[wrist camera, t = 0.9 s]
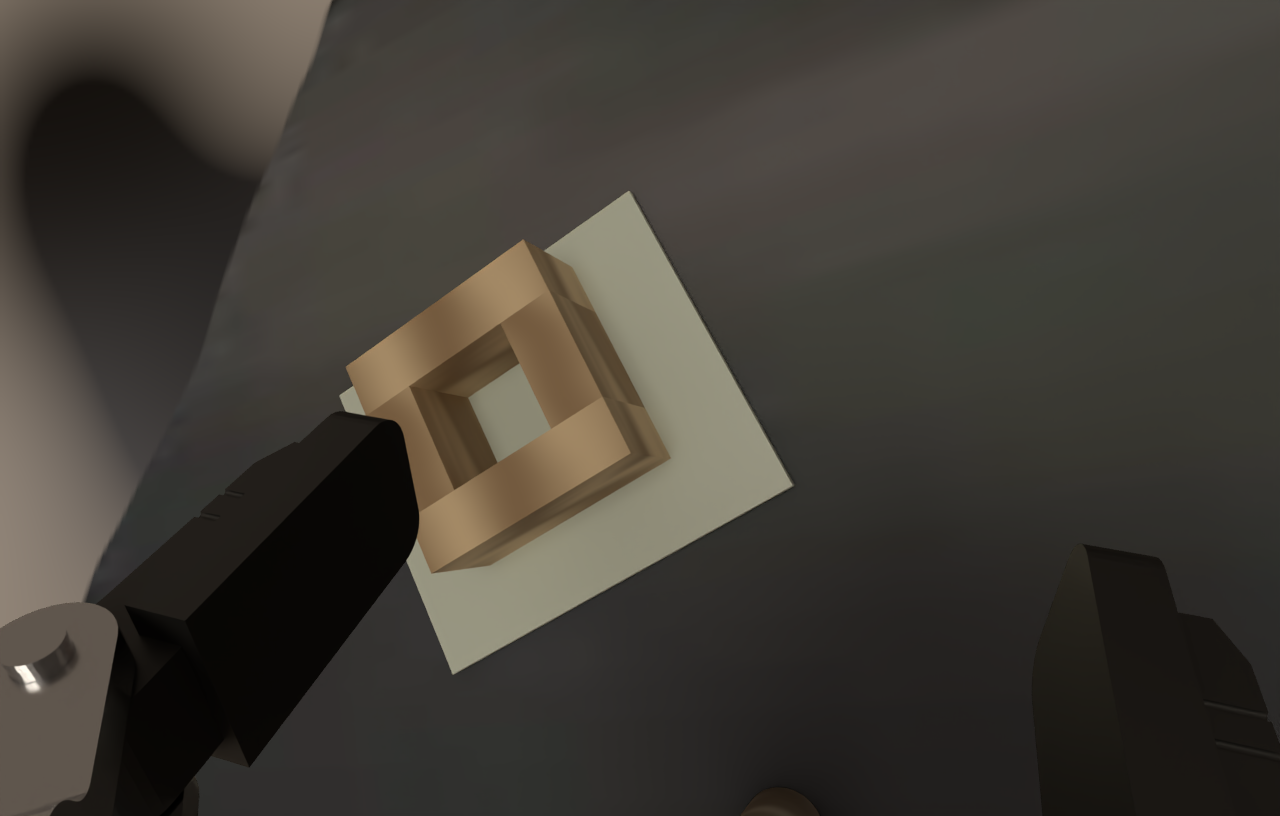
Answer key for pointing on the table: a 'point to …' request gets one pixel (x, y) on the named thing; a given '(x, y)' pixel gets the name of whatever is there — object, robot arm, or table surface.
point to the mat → (643, 509)
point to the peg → (780, 804)
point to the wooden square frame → (561, 381)
